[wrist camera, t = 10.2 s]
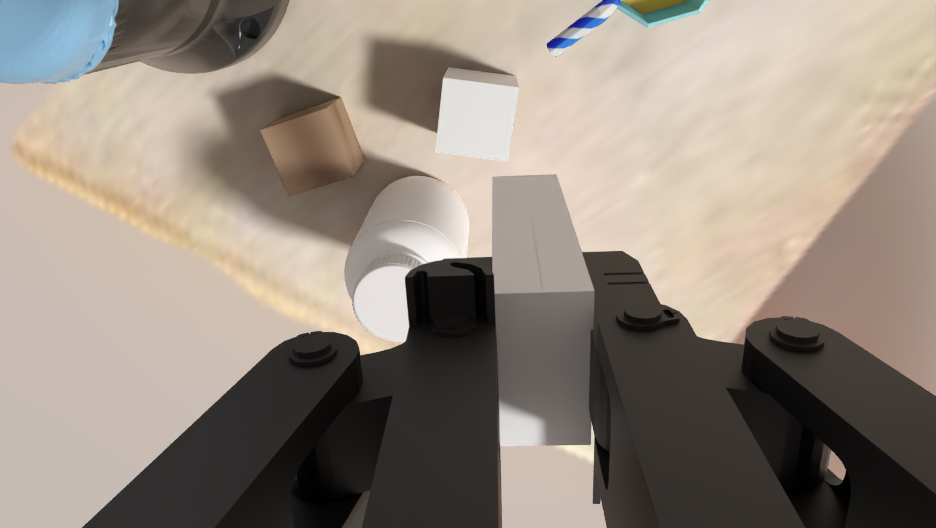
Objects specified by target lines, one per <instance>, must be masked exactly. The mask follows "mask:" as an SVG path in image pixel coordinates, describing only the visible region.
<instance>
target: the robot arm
mask: <svg viewBox="0 0 936 528" xmlns="http://www.w3.org/2000/svg"><path fill="white" fill-rule="evenodd" d="M288 3H289V0H0V82H2V83H11V84H23V83H53V84H56V83H59V82H68V81H70V79H78V78H80V77H81V76H82V75H84V74H89V73H93V72H97V71H101V70H105V69H109V68H113V67H117V66H121V65H125V64H130V63H134V62H138V61H140V62H143V63H145V64H147V65H149V66H152V67H155V68H158V69H161V70H166V71H170V72H177V73H189V74H193V73H206V72H212V71H216V70H220V69H223V68H226V67H229V66H232V65H235V64H237V63H239V62H242V61H243V60H245V59H247V58H249V57H250V56H252V55H253V54H255V53H256V52H257V51H258V50H260V49H261V48H262V47H263V46H264V45H265V44H266V43H267V42H268V40H269V39H270V38H271V37H272V36H273V34H274V33H275V31H276V30H277V28H278V27H279V25H280V23H281V21H282V19H283V17H284V14H285V12H286V9H287V6H288ZM405 287H406V298H407V309H408V320H409V329H408V334H407V338H406V342H404V343H403V344H401V345H399V346H396V347H394V348H391V349H388V350H384V351H380V352H376V353H371V354H366V355H361V356H360V351H359V347H358V344H357V342H356V340H354V339H352V338H351V337H349V336H348V335H344V334H339V333H335V332H321V331H316V332H311V333H310V334H309V333H304V334H300V335H298V336H297V337H295V338H292V339H289V340H286V341H284V342H282V343H281V344H279V345H278V346H276V347H275V348H274V349H272V350H271V351H270V352H269V353H268V354H267V355H266V356H265V357H264V358H263V359H262V360H260V361H259V362H258V363H257V364H256V365H255V366H254V367H253V368H252V369H251V370H250V371H249V372H248V373H247V374H245V375H244V376H243V377H242V378H241V379H240V380H239V381H238V382H237V383H236V384H235V385H234V386H233V387H232V388H231V389H230V390H228V391H227V392H226V393H225V394H224V395H223V396H222V397H221V398H220V399H219V400H218V401H217V402H216V403H215V404H213V405H212V406H211V407H210V408H209V409H208V410H207V411H206V412H205V413H204V414H203V415H202V416H201V417H200V418H199V419H197V421H195V422H194V423H193V424H192V425H191V426H190V427H189V428H188V429H187V430H186V431H185V432H184V433H182V434H181V435H180V436H179V437H178V438H177V439H176V440H175V441H174V442H173V443H172V444H171V445H170V446H169V447H168V448H167V449H165V450H164V451H163V452H162V453H161V454H160V455H159V456H158V457H157V458H156V459H155V460H154V461H153V462H152V463H151V464H149V466H147V467H146V468H145V469H144V470H143V471H142V472H141V473H140V474H139V475H138V476H137V477H136V478H134V479H133V480H132V481H131V482H130V483H129V484H128V485H127V486H126V487H125V488H124V489H123V490H122V491H121V492H120V493H119V494H117V495H116V496H115V497H114V498H113V499H112V500H111V501H110V502H109V503H108V504H107V505H106V506H105V507H104V508H102V509H101V510H100V511H99V512H98V513H97V514H96V515H95V516H94V517H93V518H92V519H91V520H90V521H89V522H88V523H86V524H85V525H84V526H83V527H82V528H361V527H362V528H502V504H501V461H500V446H542V445H591V421H592V426H593V430H594V435H595V442H594V479H593V481H594V482H593V504H600V500H601V501H602V506H603V511H604V516H605V520H606V526H607V528H936V396H935V395H933V394H932V393H930V392H928V391H927V390H925V389H924V388H922V387H921V386H919V385H918V384H916V383H915V382H913V381H912V380H910V379H909V378H907V377H905V376H904V375H902V374H901V373H900V372H898V371H897V370H895V369H893V368H892V367H890V366H889V365H887V364H886V363H884V362H883V361H881V360H880V359H878V358H876V357H875V356H874V355H872V354H871V353H869V352H868V351H866V350H864V349H863V348H861V347H860V346H858V345H857V344H855V343H854V342H852V341H851V340H849V339H848V338H846V337H845V336H843V335H842V334H840V333H838V332H836V331H834V330H832V329H830V328H828V327H826V326H824V325H822V324H818V323H815V322H811V321H809V320H807V319H805V318H799V317H796V318H795V319H794V318H793V317H788V316H787V317H786V316H782V317H780V318H767V319H763V320H759V321H756V322H753V323H752V324H751V325H750V326H749V327H747V328H746V335H745V343H744V345H741V344H734V343H727V342H719V341H714V340H708V339H703V338H700V337H697V336H696V334H695V332H694V331H693V329H692V327H691V325H690V324H689V322H688V320H687V319H686V318H685V317H684V316H683V315H682V314H681V313H680V312H679V311H677V310H675V309H673V308H670V307H668V306H666V305H661V304H660V302H659V301H658V299H657V297H656V295H655V293H654V291H653V289H652V287H651V285H650V284H649V281H648V279H647V277H646V275H645V274H644V272H643V270H642V268H641V266H640V264H639V262H638V260H636V259H634V258H633V257H631V256H629V255H628V254H626V253H624V252H623V251H609V252H582V251H581V248H580V245H579V242H578V239H577V236H576V233H575V230H574V227H573V224H572V221H571V218H570V215H569V212H568V209H567V205H566V202H565V199H564V196H563V193H562V190H561V187H560V184H559V181H558V178H557V175H556V174H554V175H527V176H500V177H493V189H492V257H479V258H447V259H443V260H440V261H433V262H429V263H426V264H422V265H420V266H418V267H416V268H414V269H412V270H410V271H409V272H408V274H407V275H406V276H405ZM831 450H832V451H833V452H834V453H835V454H836V455H837V456H838V458H839V459H840V460H841V461H842V463H843V465H844V467H845V469H846V474H845V477H844V479H843V481H842V480H841V479H839V478H838V477H837V476H836V475H835V474H833V473H832V472H831V471H830V470H829V469H828V463H829V458H830V453H831Z"/></svg>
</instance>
